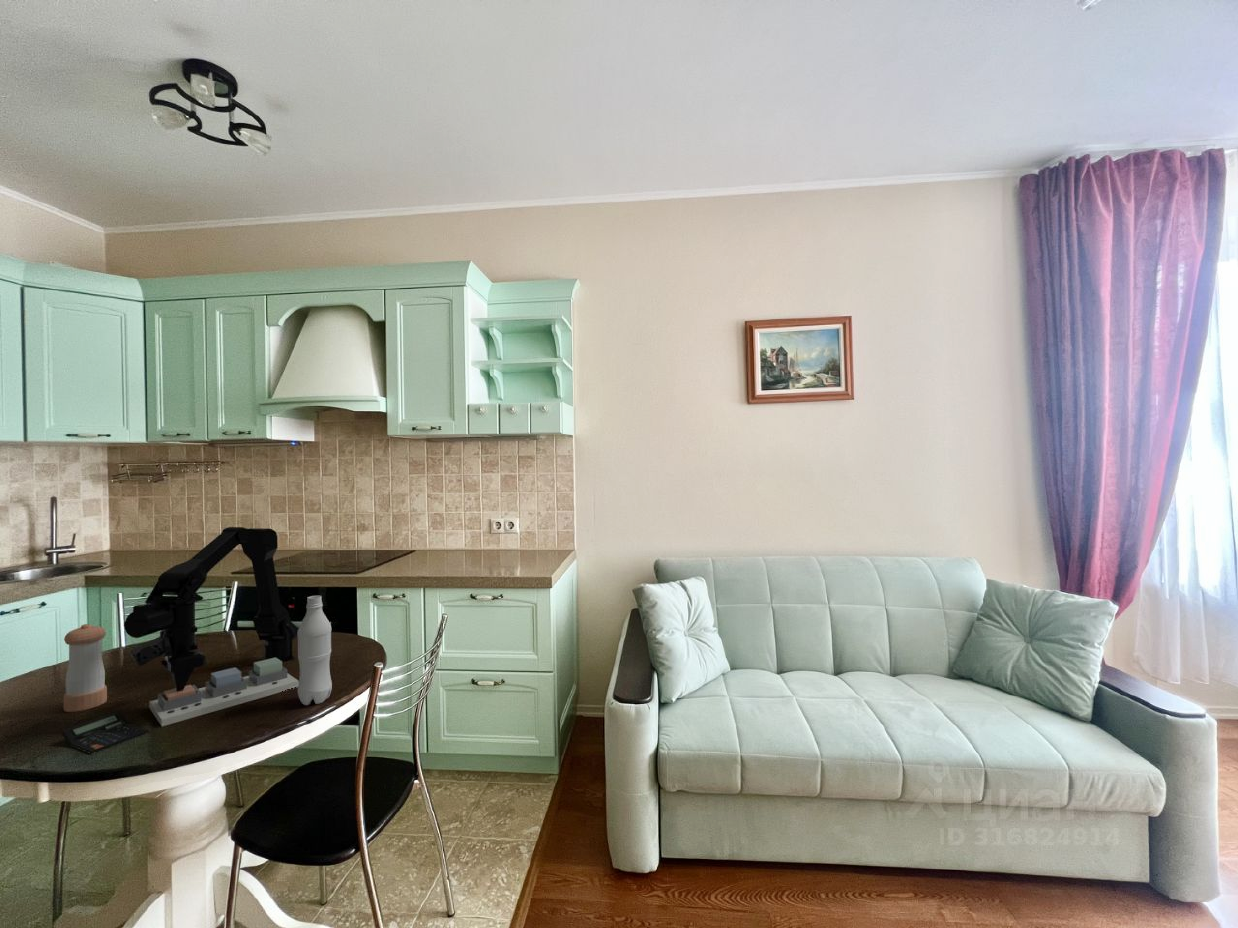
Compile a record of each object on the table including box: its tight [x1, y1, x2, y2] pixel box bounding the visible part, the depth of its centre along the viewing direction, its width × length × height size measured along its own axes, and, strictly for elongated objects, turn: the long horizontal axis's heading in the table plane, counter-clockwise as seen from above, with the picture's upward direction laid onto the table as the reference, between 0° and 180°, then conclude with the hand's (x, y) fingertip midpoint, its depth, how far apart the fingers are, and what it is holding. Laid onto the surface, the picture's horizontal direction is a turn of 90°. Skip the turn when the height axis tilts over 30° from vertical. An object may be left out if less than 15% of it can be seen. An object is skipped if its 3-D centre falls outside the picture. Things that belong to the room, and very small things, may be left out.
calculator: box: [61, 710, 150, 753], centre depth 112 cm, size 9×12×3 cm
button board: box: [148, 665, 299, 727], centre depth 131 cm, size 27×14×4 cm, turn 140°
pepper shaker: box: [63, 623, 108, 713], centre depth 127 cm, size 7×7×19 cm
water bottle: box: [297, 595, 333, 706], centre depth 129 cm, size 7×7×25 cm
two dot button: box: [210, 667, 242, 688], centre depth 132 cm, size 5×5×2 cm
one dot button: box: [253, 657, 283, 676], centre depth 139 cm, size 5×5×2 cm
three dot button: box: [163, 684, 196, 701], centre depth 125 cm, size 5×5×2 cm
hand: (179, 690), depth 125 cm, fingers closed, pressing on three dot button
